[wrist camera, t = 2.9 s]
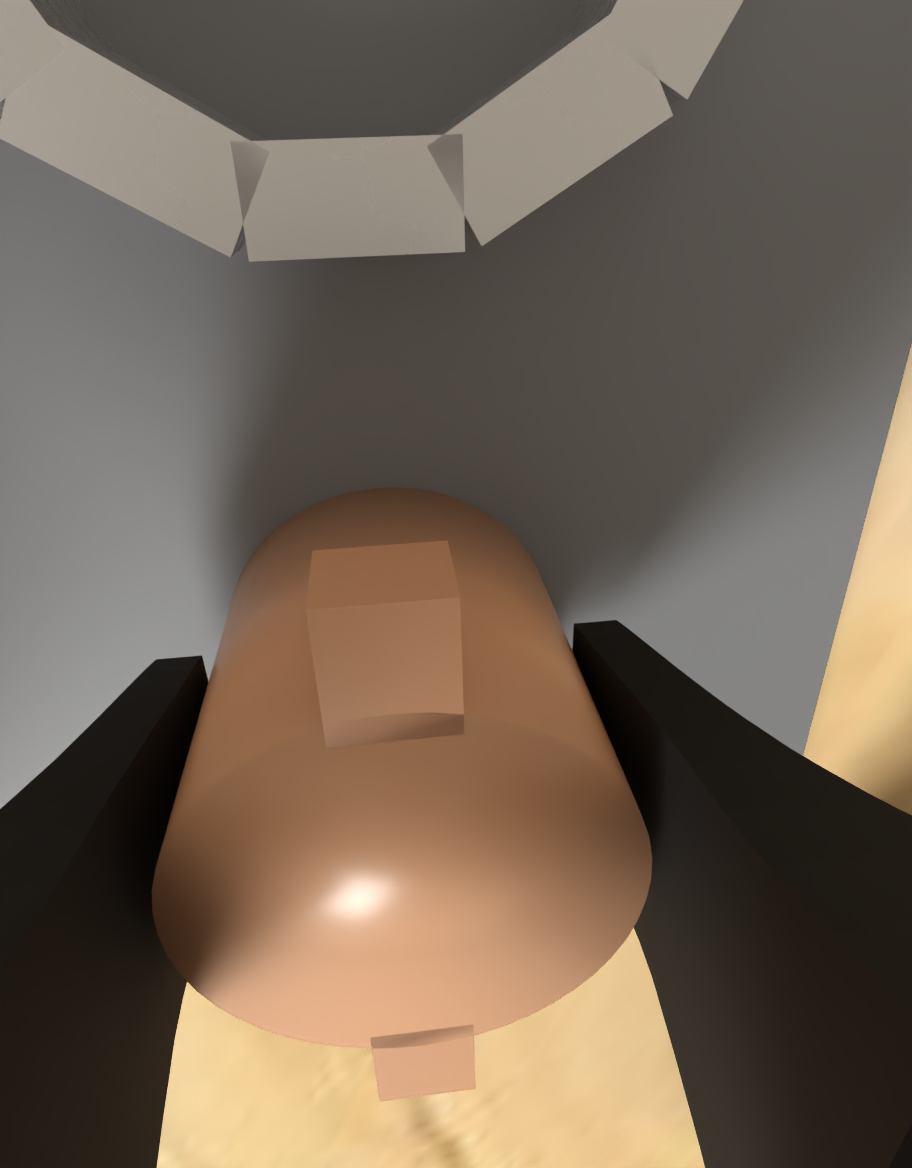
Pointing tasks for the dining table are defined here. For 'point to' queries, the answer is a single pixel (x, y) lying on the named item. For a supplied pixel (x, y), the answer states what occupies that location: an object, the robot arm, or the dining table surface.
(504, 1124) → the dining table surface
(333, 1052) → the dining table surface
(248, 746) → the cap
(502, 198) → the segmented grey ring
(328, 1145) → the dining table surface
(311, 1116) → the dining table surface
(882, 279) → the board
